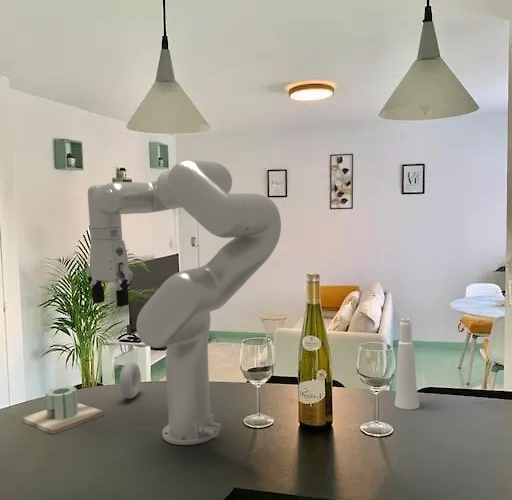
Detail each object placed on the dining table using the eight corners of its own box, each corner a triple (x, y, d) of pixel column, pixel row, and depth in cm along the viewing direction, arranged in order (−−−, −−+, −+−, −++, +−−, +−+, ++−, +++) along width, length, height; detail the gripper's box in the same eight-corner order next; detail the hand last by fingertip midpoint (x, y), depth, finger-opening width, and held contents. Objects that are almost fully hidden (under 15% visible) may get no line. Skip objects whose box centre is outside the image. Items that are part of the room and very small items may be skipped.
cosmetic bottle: (424, 405, 133) (422, 318, 131) (411, 411, 129) (409, 322, 127) (403, 399, 137) (401, 315, 136) (389, 405, 133) (387, 319, 132)
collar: (83, 412, 134) (81, 389, 134) (58, 422, 129) (56, 397, 128) (67, 407, 139) (65, 384, 138) (42, 416, 133) (40, 392, 133)
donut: (131, 391, 152) (129, 357, 151) (143, 391, 152) (141, 357, 151) (118, 404, 142) (116, 367, 141) (130, 404, 142) (128, 367, 141)
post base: (103, 414, 135) (102, 391, 134) (52, 434, 124) (51, 409, 124) (71, 404, 144) (70, 382, 143) (22, 421, 133) (20, 398, 132)
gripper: (141, 234, 129) (145, 304, 130) (98, 234, 139) (102, 299, 141) (115, 236, 123) (120, 309, 124) (72, 236, 134) (77, 304, 135)
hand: (110, 304), depth 132 cm, fingers open, 9 cm apart
